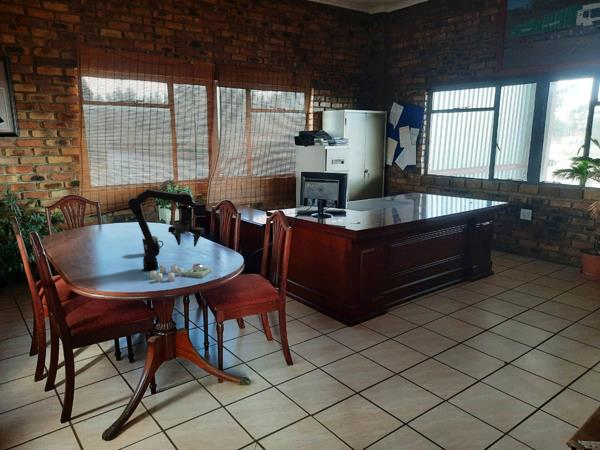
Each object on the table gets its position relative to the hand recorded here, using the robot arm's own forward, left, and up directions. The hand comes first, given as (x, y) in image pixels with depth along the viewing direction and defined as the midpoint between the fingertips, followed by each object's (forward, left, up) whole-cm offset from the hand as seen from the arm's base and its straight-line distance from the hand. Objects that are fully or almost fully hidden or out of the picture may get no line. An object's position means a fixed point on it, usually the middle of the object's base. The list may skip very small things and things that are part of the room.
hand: (187, 245), depth 236 cm
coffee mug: (-31, +15, -12) cm, 37 cm away
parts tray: (+10, -8, -12) cm, 18 cm away
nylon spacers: (-2, -17, -12) cm, 21 cm away
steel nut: (+10, -8, -11) cm, 17 cm away
